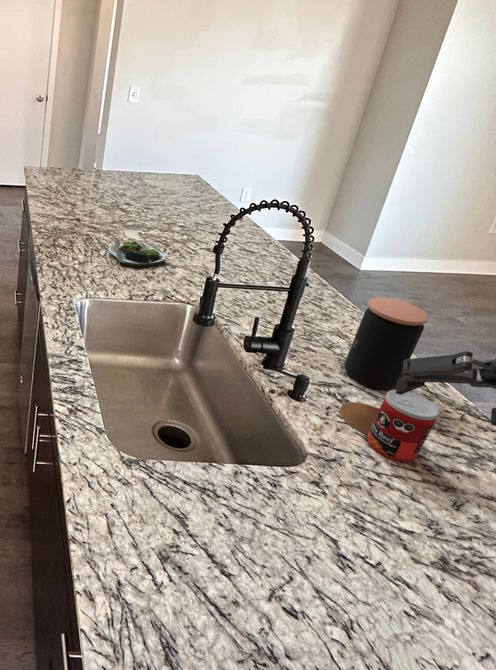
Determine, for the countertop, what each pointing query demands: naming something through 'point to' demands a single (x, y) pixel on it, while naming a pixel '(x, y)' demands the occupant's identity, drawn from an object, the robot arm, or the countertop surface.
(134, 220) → the countertop surface
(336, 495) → the countertop surface
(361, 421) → the cork coaster
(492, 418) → the robot arm
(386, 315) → the coffee jar
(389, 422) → the canned food
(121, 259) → the salad plate
